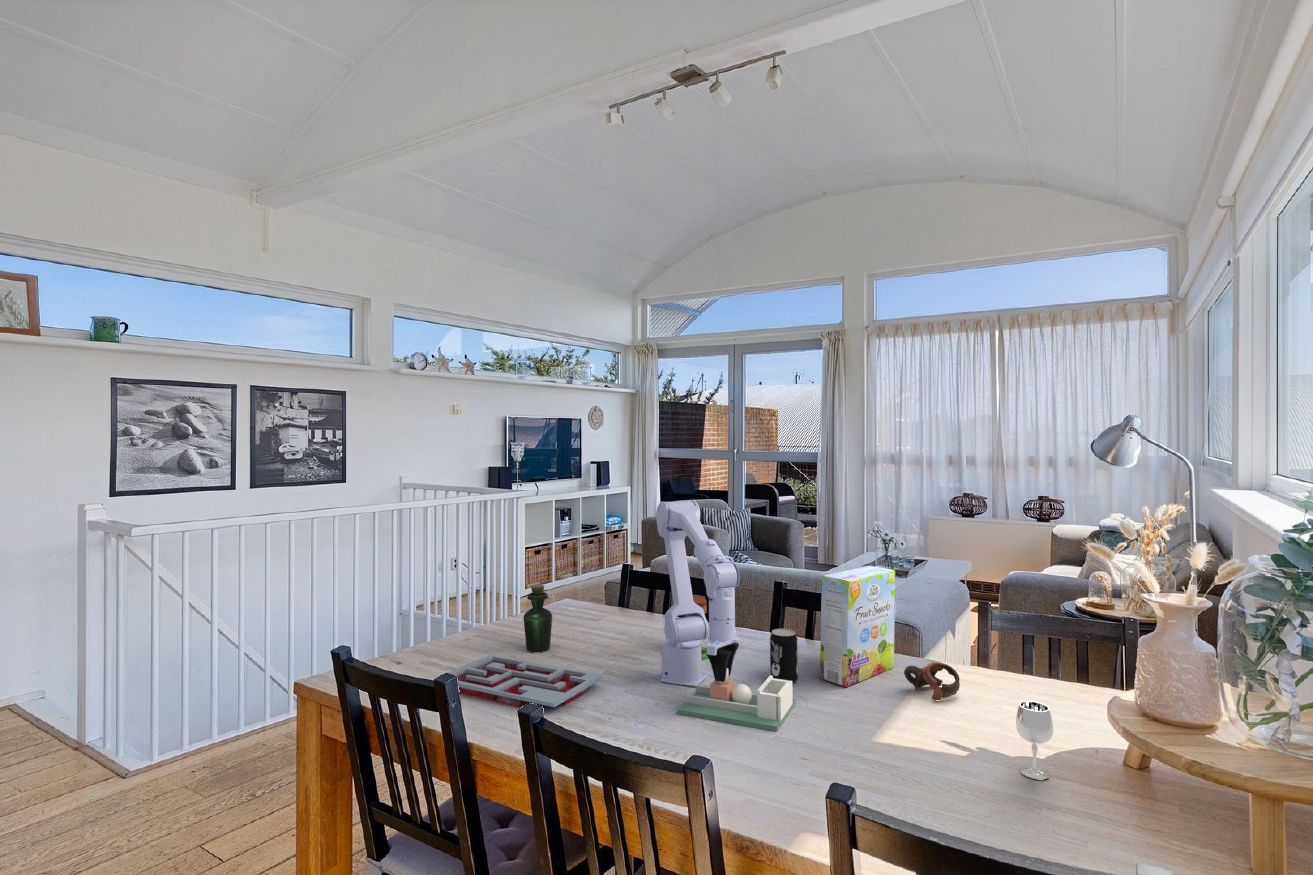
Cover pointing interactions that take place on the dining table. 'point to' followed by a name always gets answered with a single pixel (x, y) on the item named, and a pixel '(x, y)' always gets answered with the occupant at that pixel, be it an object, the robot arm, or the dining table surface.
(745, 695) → the ball
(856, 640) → the snack box
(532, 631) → the potion bottle
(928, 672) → the brown curved loop
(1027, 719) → the wineglass
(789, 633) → the beverage can
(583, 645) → the dining table surface
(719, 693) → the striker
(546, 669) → the maze game
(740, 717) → the pitch board
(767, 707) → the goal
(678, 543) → the robot arm
